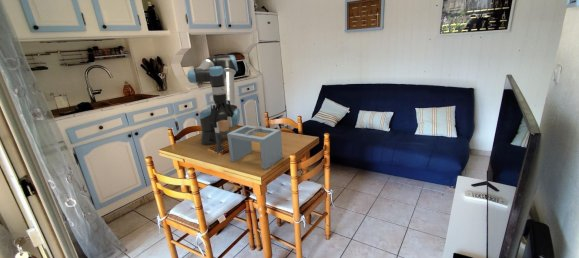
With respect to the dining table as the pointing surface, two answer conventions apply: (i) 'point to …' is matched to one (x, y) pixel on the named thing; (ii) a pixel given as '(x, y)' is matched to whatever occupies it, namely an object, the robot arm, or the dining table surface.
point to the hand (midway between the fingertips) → (224, 129)
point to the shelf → (268, 143)
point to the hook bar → (253, 131)
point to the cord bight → (222, 131)
